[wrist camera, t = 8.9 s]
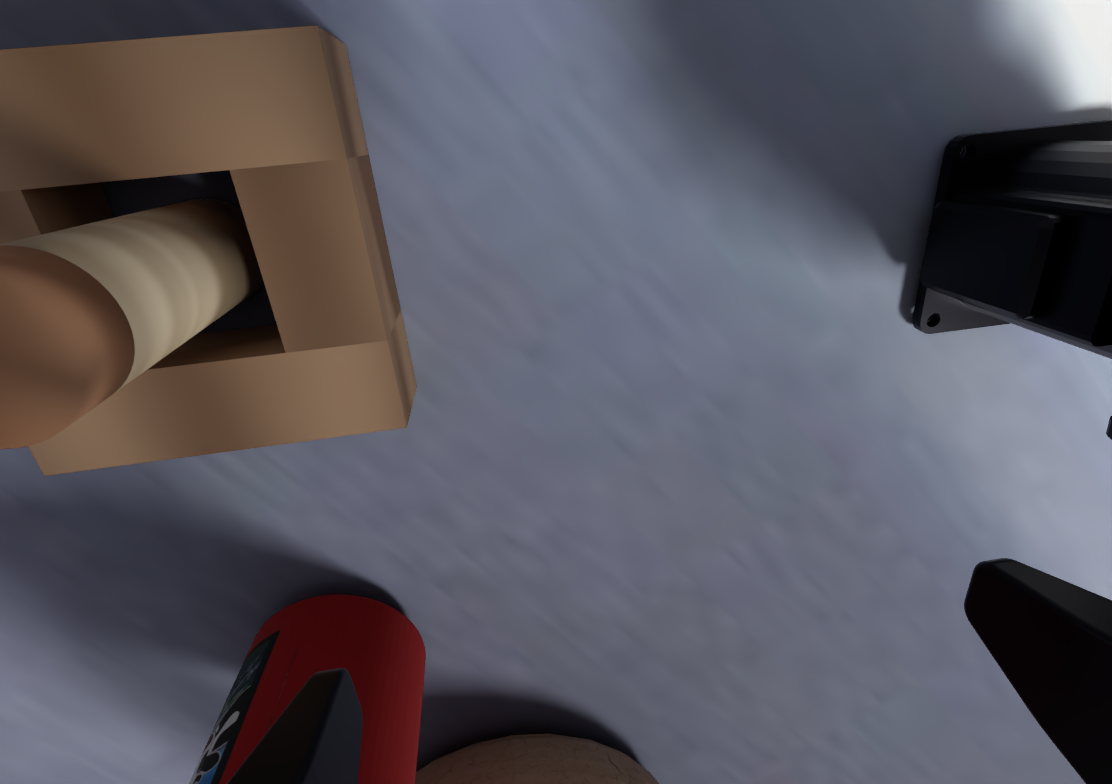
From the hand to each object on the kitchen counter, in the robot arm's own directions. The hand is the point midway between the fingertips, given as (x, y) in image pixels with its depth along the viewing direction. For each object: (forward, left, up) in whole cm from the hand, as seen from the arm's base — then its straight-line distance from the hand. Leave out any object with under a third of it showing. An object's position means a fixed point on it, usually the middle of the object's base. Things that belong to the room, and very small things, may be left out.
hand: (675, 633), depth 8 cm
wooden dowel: (+10, -4, -12) cm, 16 cm away
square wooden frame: (+10, -4, -12) cm, 16 cm away
